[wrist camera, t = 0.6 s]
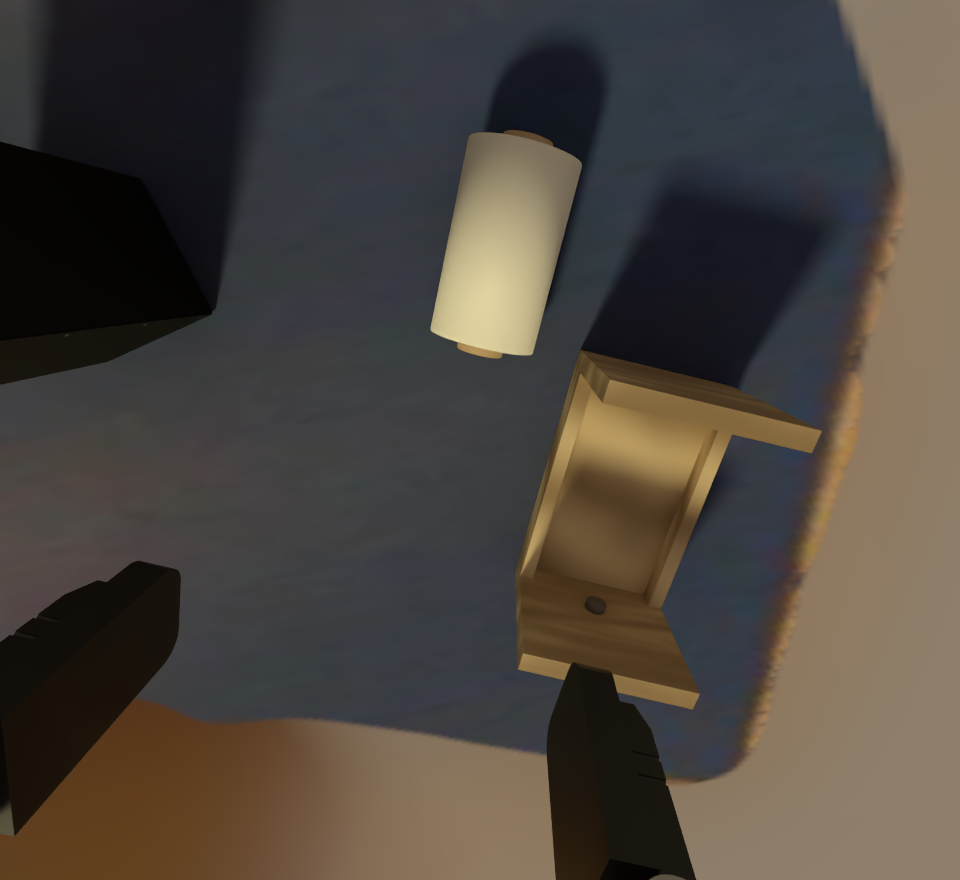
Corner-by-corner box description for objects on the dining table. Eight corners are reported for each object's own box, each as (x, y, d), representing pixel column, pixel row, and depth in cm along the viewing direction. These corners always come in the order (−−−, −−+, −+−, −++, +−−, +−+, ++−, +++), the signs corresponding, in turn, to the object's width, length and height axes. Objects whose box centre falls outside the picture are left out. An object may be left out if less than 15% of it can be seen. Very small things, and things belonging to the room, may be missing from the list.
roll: (476, 140, 27) (465, 106, 21) (579, 165, 27) (593, 137, 21) (436, 334, 30) (419, 346, 25) (528, 356, 30) (530, 373, 25)
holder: (580, 349, 29) (609, 379, 21) (731, 385, 30) (822, 430, 21) (515, 570, 34) (517, 669, 25) (646, 600, 34) (692, 709, 26)
